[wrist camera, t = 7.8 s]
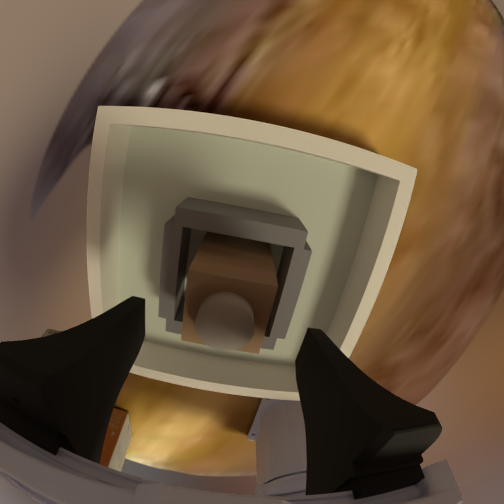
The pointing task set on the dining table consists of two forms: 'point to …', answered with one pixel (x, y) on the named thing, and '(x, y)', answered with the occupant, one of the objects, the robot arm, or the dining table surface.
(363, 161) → the cream square tray
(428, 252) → the dining table surface
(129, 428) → the small box
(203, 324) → the peg
